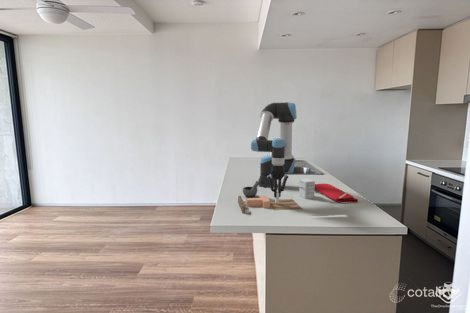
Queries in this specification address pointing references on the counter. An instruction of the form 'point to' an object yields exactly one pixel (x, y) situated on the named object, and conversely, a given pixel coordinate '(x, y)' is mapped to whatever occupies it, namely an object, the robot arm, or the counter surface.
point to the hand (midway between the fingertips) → (277, 202)
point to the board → (282, 205)
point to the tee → (258, 202)
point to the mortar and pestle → (250, 190)
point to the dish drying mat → (334, 193)
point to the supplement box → (306, 188)
